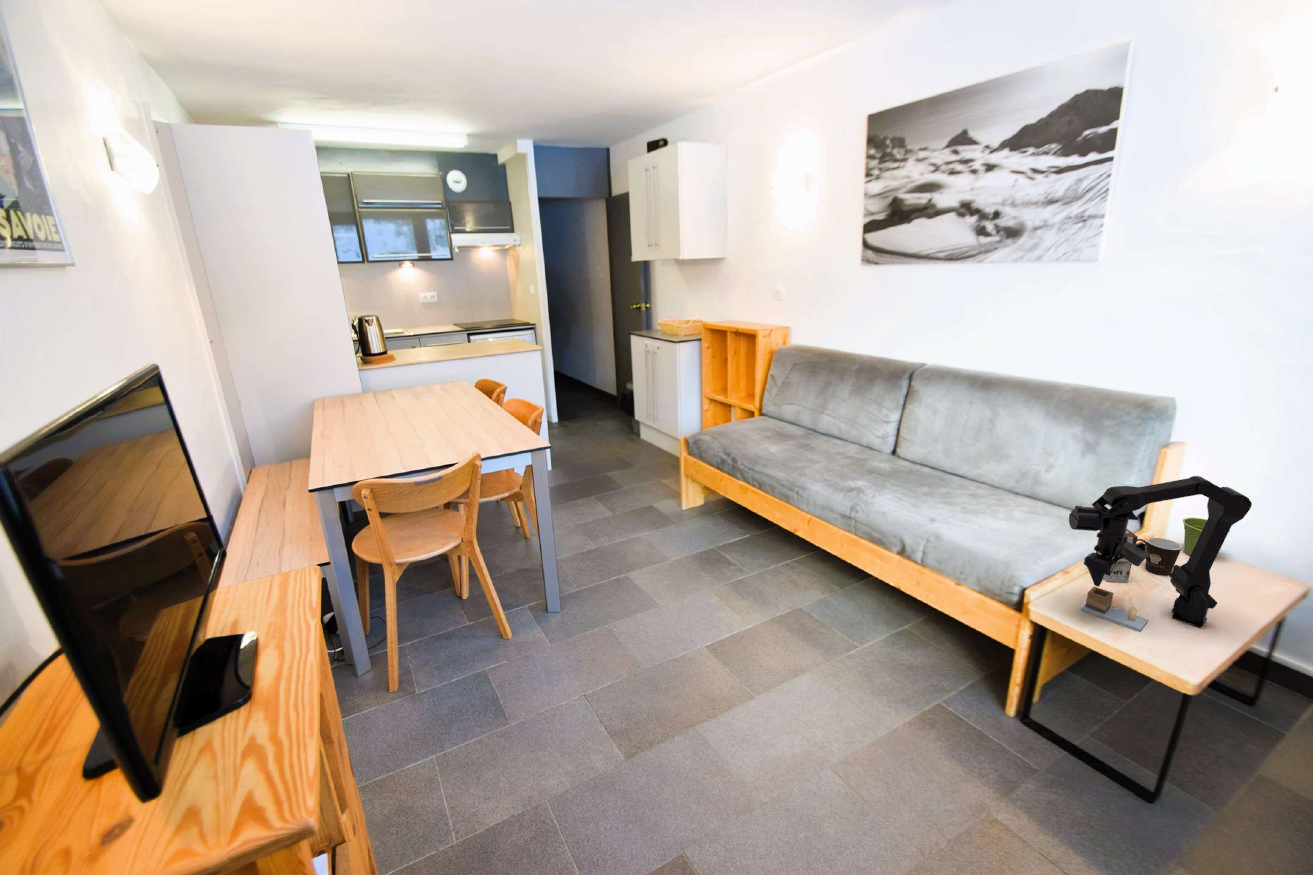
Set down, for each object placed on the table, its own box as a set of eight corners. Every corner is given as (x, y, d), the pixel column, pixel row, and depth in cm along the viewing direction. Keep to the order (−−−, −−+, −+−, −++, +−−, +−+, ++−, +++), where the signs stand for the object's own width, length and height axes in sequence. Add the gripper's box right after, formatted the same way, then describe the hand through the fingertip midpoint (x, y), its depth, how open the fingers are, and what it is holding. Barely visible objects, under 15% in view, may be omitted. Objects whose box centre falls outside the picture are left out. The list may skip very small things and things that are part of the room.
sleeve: (1091, 601, 175) (1093, 586, 173) (1110, 607, 171) (1113, 592, 170) (1085, 606, 172) (1088, 592, 170) (1104, 614, 168) (1107, 598, 167)
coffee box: (1129, 583, 185) (1139, 537, 180) (1106, 581, 186) (1115, 535, 182) (1113, 568, 194) (1122, 524, 189) (1091, 567, 195) (1100, 523, 190)
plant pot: (1190, 562, 196) (1198, 531, 192) (1167, 546, 207) (1174, 516, 203) (1231, 564, 194) (1239, 533, 190) (1205, 547, 205) (1212, 518, 201)
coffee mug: (1182, 577, 187) (1189, 549, 184) (1155, 578, 187) (1161, 550, 184) (1153, 559, 198) (1159, 533, 195) (1127, 560, 198) (1133, 533, 195)
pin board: (1147, 622, 165) (1150, 608, 164) (1140, 632, 161) (1143, 618, 160) (1089, 601, 176) (1091, 588, 175) (1081, 610, 172) (1083, 597, 171)
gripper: (1138, 552, 153) (1126, 603, 157) (1158, 530, 164) (1146, 580, 168) (1088, 537, 161) (1078, 587, 166) (1110, 518, 172) (1100, 565, 177)
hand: (1102, 580), depth 169 cm, fingers open, 9 cm apart
